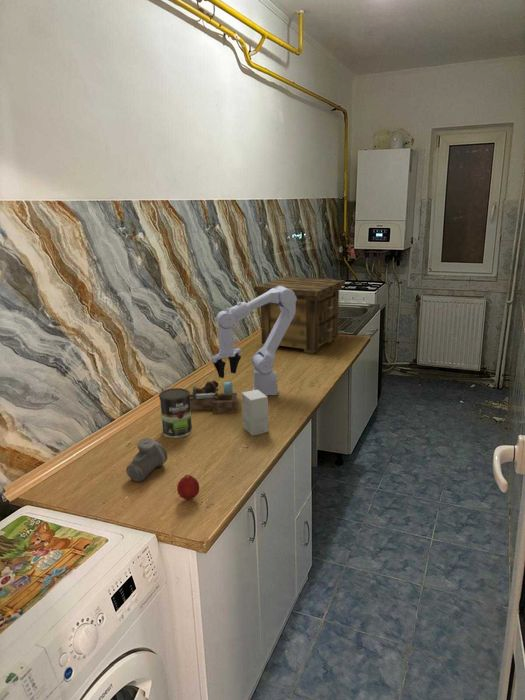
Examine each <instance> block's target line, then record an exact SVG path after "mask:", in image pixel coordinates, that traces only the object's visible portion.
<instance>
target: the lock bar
mask: <svg viewBox="0 0 525 700" xmlns="http://www.w3.org/2000/svg"><path fill="white" fill-rule="evenodd" d="M196 388H197V386H196V385H193V387H192V393H193V399H194V400H196V399H203V398H213V396H215V393H216V392H213V393H207V394H197V392H196Z"/></svg>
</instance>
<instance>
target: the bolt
mask: <svg viewBox="0 0 525 700" xmlns="http://www.w3.org/2000/svg"><path fill="white" fill-rule="evenodd" d="M218 387H219V382H217V381H216V380H213V381H207V382H206V383H205V385H204V386H203V387H201V388H198V387H196V392H197V394H207V393H216V390H217V388H218ZM191 394H193V392H192V393H191Z"/></svg>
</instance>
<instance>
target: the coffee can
mask: <svg viewBox="0 0 525 700" xmlns="http://www.w3.org/2000/svg"><path fill="white" fill-rule="evenodd" d="M190 394H191V392H190V390H188V389H186V388H181V387H176V388H175V387H174V388H169V389H164V390H162V391H160V392H159V393H158V398H159V404H160V405H159V407H160V419H161V431H162V433H161V434H162V435H163V436H164V437H166V438H171V439H177V438H179V439H180V438H184V437H187V436H189V435H190V434H191V433H192V432H193V426H192V413H191V411H192V410H191V409H190Z"/></svg>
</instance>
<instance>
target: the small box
mask: <svg viewBox="0 0 525 700" xmlns="http://www.w3.org/2000/svg"><path fill="white" fill-rule="evenodd" d="M241 406H242V407H241V410H242V411H241V413H242V427H243V428H244V429H245V431H247V432H248V433H249V434H250V435H251V436H252V437H253V436H258V435H262V434H266V433H269V431H270V430H269V428H270V427H269V397H268V395H264V394H263V393H262V392H260V391H259V390H253V389H252V390H249V391H248V390H247V391H242V392H241Z"/></svg>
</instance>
